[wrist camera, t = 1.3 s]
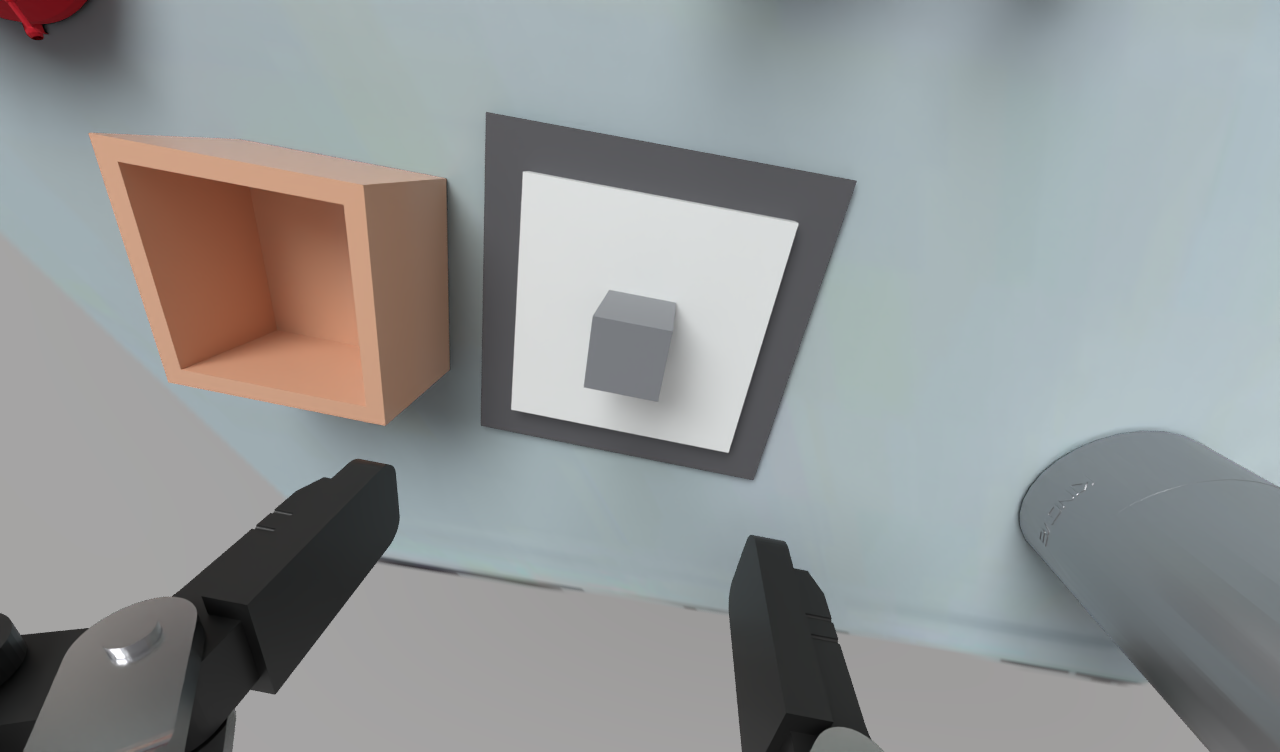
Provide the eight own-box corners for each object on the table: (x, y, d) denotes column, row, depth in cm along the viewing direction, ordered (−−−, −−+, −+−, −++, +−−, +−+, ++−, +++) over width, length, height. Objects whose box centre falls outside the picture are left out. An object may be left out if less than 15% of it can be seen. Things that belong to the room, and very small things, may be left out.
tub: (446, 178, 21) (363, 185, 16) (449, 369, 26) (385, 425, 20) (239, 139, 22) (88, 132, 16) (277, 335, 26) (168, 382, 21)
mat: (853, 180, 20) (856, 180, 19) (752, 475, 27) (753, 480, 26) (489, 113, 20) (485, 112, 20) (483, 421, 27) (481, 425, 27)
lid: (794, 221, 20) (822, 238, 16) (727, 444, 25) (734, 502, 21) (528, 171, 20) (485, 174, 16) (516, 402, 26) (480, 451, 21)
